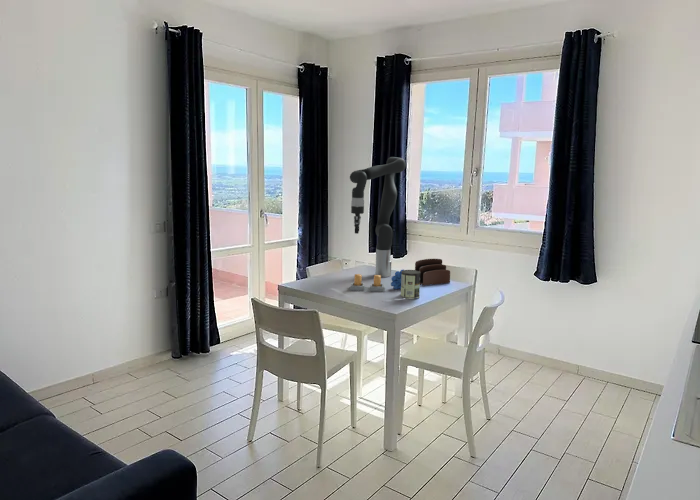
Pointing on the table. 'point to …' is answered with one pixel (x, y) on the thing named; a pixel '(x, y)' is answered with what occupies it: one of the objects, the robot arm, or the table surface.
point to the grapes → (396, 280)
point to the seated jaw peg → (377, 280)
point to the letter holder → (432, 271)
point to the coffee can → (410, 284)
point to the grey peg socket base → (367, 288)
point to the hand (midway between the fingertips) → (356, 232)
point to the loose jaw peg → (357, 280)
